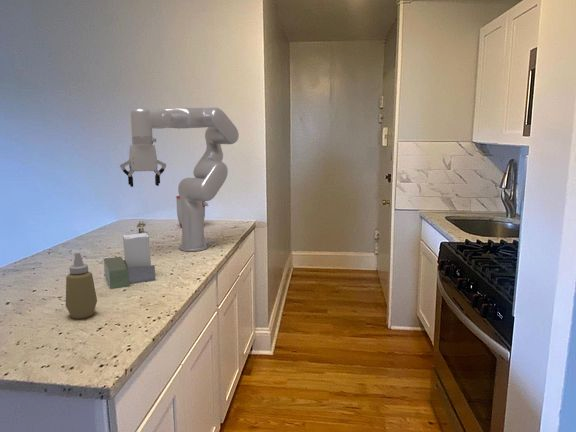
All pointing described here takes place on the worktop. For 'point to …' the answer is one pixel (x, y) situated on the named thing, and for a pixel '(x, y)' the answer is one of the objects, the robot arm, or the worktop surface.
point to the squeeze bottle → (80, 290)
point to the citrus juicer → (180, 209)
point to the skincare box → (136, 250)
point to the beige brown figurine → (141, 227)
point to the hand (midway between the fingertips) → (144, 185)
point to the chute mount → (126, 273)
